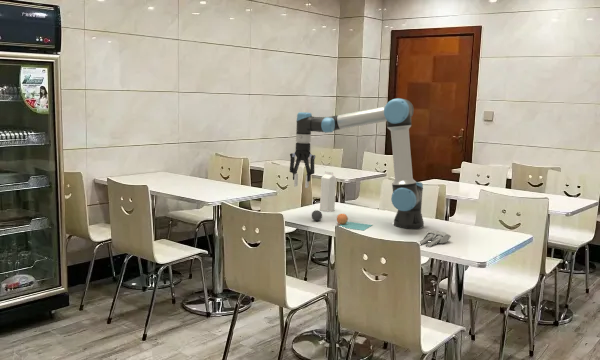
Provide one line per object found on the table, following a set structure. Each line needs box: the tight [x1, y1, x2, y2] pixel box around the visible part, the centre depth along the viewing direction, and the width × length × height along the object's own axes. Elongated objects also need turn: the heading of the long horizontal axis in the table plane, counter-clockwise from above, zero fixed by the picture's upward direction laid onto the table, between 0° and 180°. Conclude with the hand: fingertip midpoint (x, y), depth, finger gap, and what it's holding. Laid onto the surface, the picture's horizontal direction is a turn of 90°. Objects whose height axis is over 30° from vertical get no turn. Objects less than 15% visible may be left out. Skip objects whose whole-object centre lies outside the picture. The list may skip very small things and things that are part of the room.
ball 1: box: [311, 209, 323, 222], centre depth 305 cm, size 6×6×6 cm
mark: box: [339, 221, 373, 231], centre depth 296 cm, size 14×14×1 cm
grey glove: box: [419, 229, 451, 248], centre depth 268 cm, size 10×20×5 cm, turn 139°
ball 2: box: [336, 213, 349, 225], centre depth 299 cm, size 6×6×6 cm
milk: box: [319, 171, 337, 213], centre depth 332 cm, size 6×6×22 cm
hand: (301, 186), depth 306 cm, fingers open, 6 cm apart
